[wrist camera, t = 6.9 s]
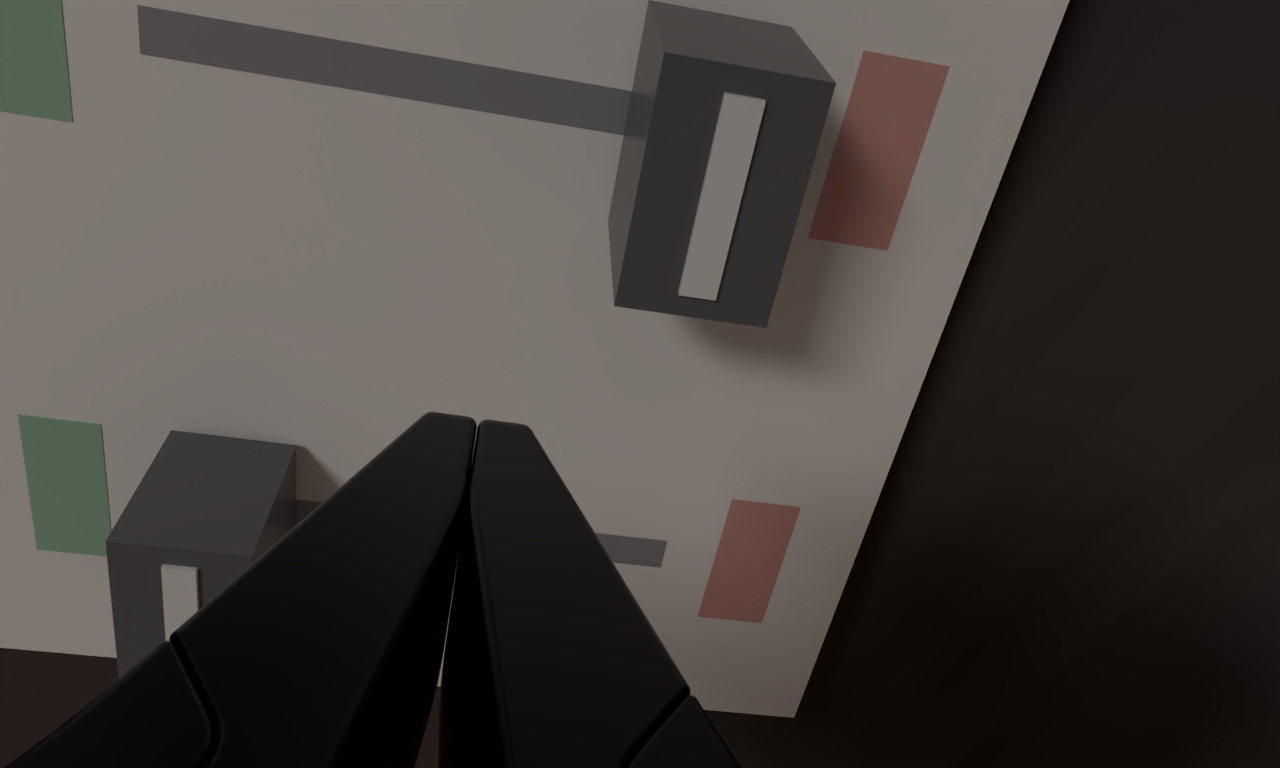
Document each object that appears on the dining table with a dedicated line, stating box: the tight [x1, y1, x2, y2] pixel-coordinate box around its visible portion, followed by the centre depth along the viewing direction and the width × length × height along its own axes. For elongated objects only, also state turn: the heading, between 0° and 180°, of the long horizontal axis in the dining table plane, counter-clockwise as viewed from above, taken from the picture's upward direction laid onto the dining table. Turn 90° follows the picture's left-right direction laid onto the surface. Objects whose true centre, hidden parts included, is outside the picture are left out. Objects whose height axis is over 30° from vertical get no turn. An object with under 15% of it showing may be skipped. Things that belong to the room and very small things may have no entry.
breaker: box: [105, 430, 297, 678], centre depth 21 cm, size 2×4×4 cm, turn 169°
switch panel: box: [0, 0, 1069, 718], centre depth 19 cm, size 20×30×2 cm, turn 169°
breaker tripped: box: [608, 0, 836, 328], centre depth 17 cm, size 2×4×4 cm, turn 169°
